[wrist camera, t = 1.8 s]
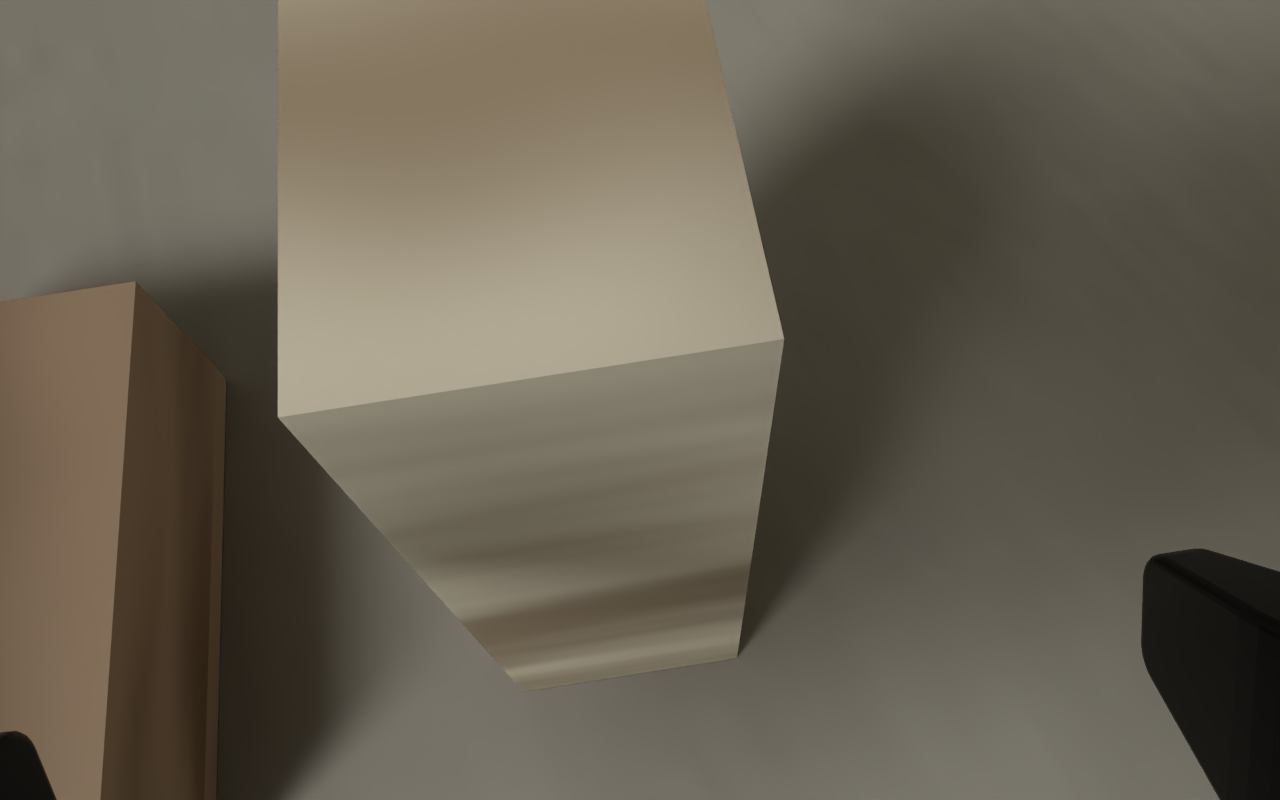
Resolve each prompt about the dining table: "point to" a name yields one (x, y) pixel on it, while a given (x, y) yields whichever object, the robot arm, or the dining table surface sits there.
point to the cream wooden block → (531, 315)
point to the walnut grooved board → (110, 544)
